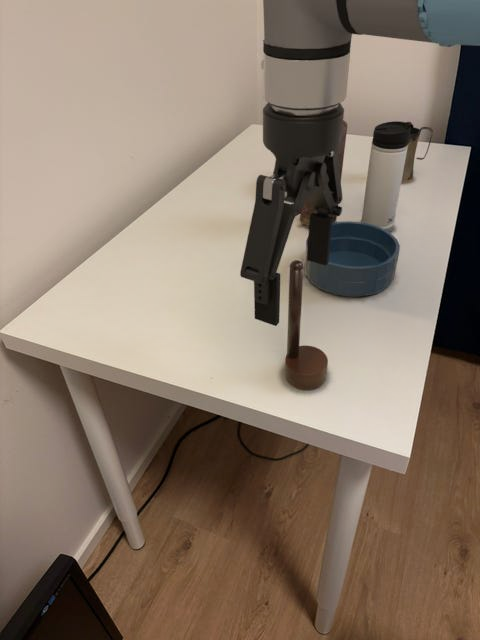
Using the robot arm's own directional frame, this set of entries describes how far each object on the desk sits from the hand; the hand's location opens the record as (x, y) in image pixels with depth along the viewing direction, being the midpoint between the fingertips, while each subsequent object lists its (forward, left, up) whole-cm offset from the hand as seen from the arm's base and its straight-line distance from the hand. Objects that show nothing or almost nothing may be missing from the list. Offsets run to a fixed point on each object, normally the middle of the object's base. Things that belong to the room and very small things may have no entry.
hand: (294, 289), depth 58 cm
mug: (+5, -69, -14) cm, 70 cm away
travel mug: (+3, -44, -14) cm, 46 cm away
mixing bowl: (+2, -26, -14) cm, 29 cm away
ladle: (-2, 0, -14) cm, 14 cm away
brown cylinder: (+14, -40, -14) cm, 44 cm away
